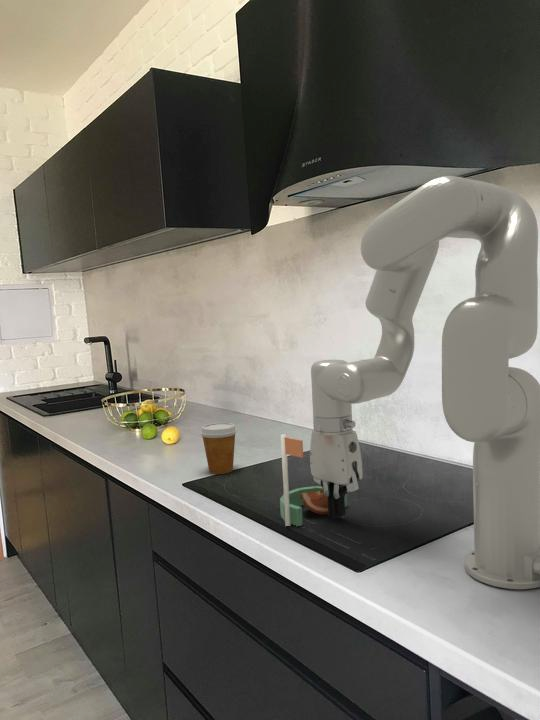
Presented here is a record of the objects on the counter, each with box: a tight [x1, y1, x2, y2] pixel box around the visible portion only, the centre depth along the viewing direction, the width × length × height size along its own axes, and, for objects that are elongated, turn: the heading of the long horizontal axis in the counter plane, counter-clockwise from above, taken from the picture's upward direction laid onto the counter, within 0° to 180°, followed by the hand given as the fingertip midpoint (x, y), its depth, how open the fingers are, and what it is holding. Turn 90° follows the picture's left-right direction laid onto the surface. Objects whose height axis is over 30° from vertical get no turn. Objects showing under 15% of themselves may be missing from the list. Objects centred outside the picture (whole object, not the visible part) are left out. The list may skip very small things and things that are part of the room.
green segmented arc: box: [279, 433, 348, 527], centre depth 119 cm, size 12×16×18 cm
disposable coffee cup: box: [200, 422, 238, 475], centre depth 154 cm, size 10×10×12 cm
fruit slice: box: [301, 490, 328, 516], centre depth 120 cm, size 8×7×5 cm
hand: (336, 515), depth 115 cm, fingers closed
